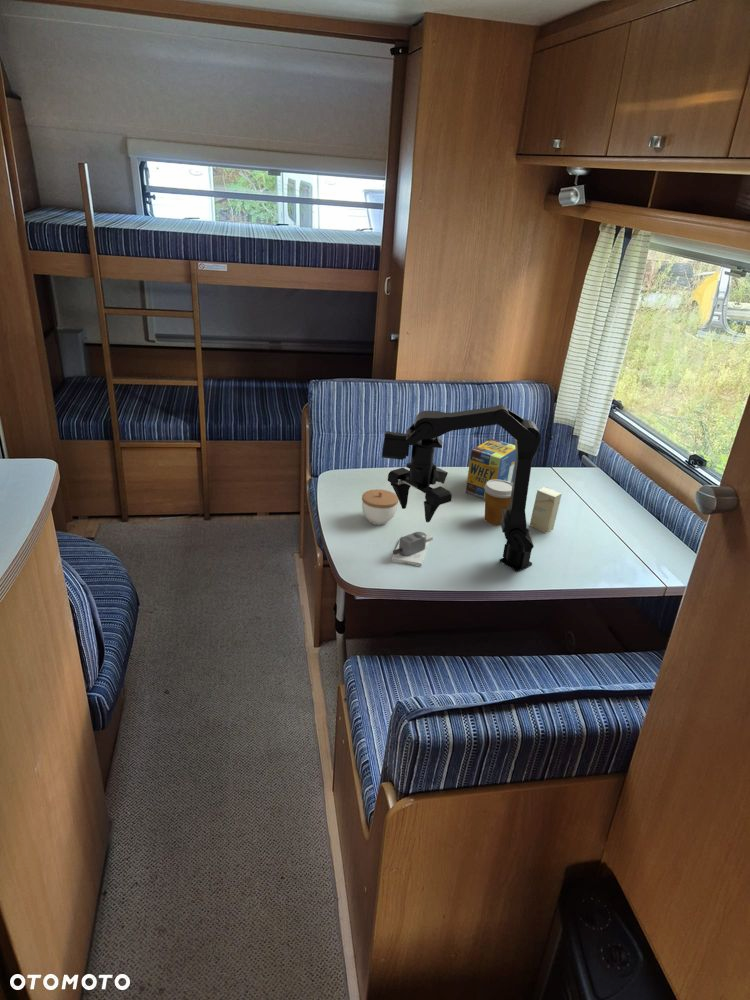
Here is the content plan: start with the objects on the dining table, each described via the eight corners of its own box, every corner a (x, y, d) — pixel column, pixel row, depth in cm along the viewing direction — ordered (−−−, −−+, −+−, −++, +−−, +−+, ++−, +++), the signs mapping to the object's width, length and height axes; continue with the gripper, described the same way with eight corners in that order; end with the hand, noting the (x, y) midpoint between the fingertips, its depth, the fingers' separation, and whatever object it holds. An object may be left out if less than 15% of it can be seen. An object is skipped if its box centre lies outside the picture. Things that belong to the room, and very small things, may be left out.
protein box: (464, 493, 217) (470, 449, 210) (485, 479, 228) (491, 437, 222) (493, 502, 212) (500, 458, 205) (512, 488, 223) (520, 445, 217)
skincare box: (529, 525, 198) (536, 489, 193) (536, 521, 201) (543, 485, 196) (547, 533, 194) (555, 496, 189) (554, 529, 197) (562, 492, 192)
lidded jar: (364, 529, 189) (366, 500, 185) (357, 512, 198) (359, 484, 194) (400, 528, 191) (402, 499, 187) (391, 511, 201) (394, 483, 197)
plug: (398, 559, 173) (399, 546, 171) (389, 554, 175) (390, 541, 173) (433, 546, 181) (435, 533, 179) (424, 540, 183) (426, 528, 181)
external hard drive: (428, 546, 184) (421, 568, 173) (400, 541, 185) (391, 562, 174) (429, 541, 183) (422, 563, 172) (400, 536, 184) (391, 557, 173)
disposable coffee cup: (515, 526, 197) (522, 491, 192) (487, 529, 194) (493, 493, 189) (501, 512, 205) (507, 477, 200) (474, 514, 202) (479, 479, 197)
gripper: (470, 466, 165) (462, 521, 172) (419, 443, 178) (413, 495, 185) (439, 476, 159) (432, 532, 165) (388, 451, 171) (384, 504, 178)
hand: (415, 515), depth 173 cm, fingers open, 9 cm apart
